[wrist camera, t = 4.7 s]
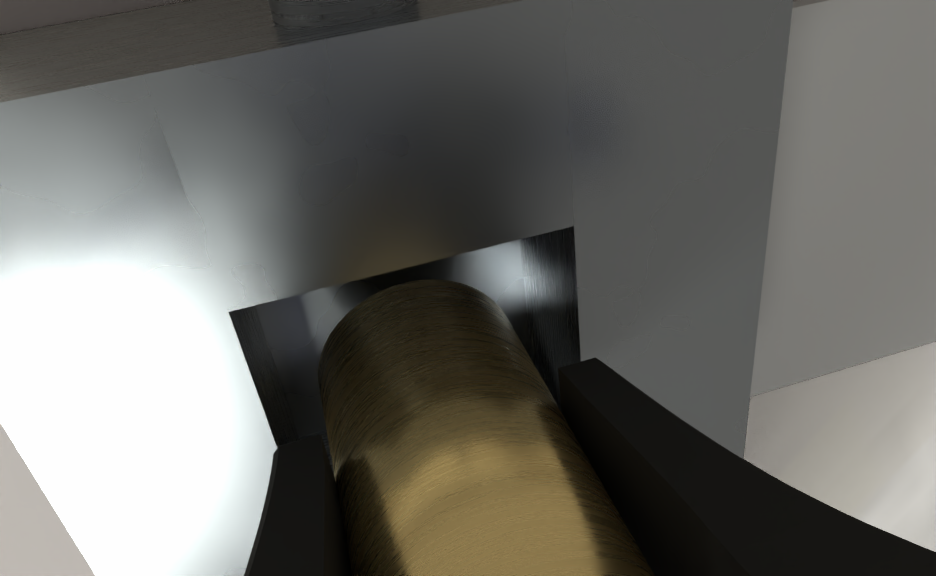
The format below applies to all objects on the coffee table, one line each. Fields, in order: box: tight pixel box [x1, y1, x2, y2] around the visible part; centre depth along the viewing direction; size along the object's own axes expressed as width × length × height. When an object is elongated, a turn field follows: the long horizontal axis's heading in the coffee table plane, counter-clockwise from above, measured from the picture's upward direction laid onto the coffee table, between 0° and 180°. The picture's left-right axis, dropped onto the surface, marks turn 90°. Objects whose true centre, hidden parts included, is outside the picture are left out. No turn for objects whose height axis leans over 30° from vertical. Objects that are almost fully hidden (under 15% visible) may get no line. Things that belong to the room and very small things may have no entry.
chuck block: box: [0, 0, 793, 576], centre depth 12 cm, size 20×12×4 cm, turn 8°
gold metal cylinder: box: [318, 280, 655, 576], centre depth 11 cm, size 4×4×7 cm
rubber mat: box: [750, 0, 936, 397], centre depth 18 cm, size 10×10×1 cm
